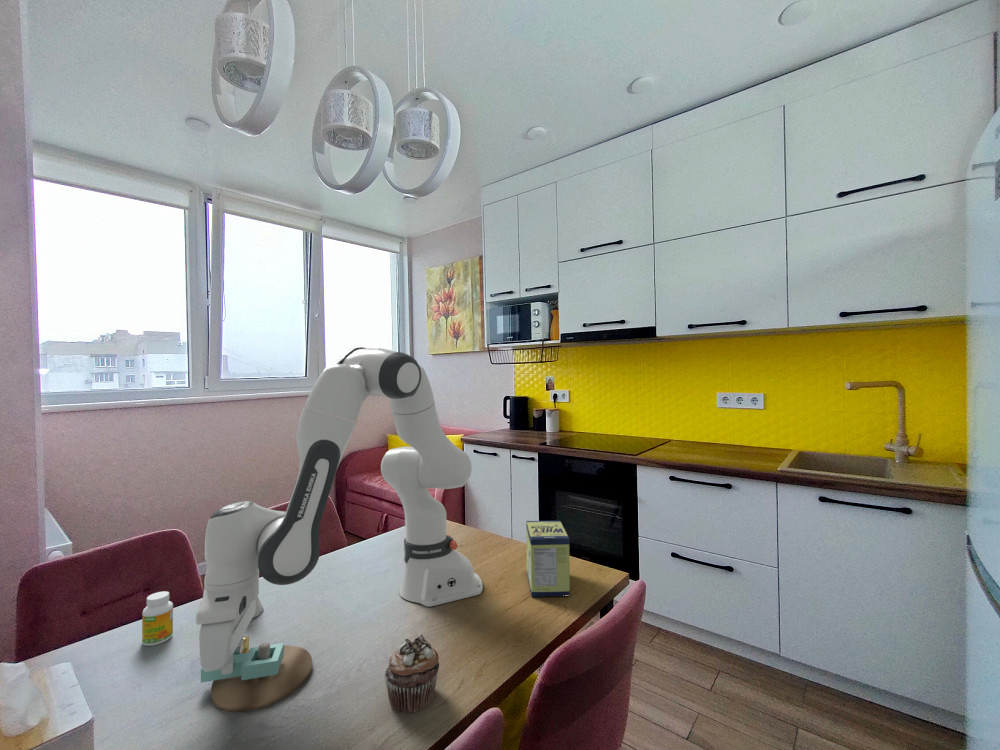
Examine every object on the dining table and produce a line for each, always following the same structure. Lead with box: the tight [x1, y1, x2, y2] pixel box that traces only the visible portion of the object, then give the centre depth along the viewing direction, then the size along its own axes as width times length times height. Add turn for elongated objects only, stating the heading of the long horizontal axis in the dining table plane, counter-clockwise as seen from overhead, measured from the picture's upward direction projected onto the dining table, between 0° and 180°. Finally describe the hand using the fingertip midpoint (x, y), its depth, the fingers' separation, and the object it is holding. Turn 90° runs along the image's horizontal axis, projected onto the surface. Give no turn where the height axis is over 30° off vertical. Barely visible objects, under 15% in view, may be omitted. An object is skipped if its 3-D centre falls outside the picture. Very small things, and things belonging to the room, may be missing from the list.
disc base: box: [210, 642, 313, 713], centre depth 84 cm, size 17×17×6 cm
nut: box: [200, 642, 285, 683], centre depth 83 cm, size 13×6×2 cm, turn 106°
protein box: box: [525, 520, 571, 598], centre depth 122 cm, size 10×16×16 cm
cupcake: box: [384, 633, 440, 714], centre depth 79 cm, size 10×10×10 cm
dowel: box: [241, 635, 250, 654], centre depth 88 cm, size 2×2×4 cm
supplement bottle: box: [141, 590, 174, 647], centre depth 97 cm, size 5×5×10 cm
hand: (232, 664), depth 82 cm, fingers closed on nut, 3 cm apart
